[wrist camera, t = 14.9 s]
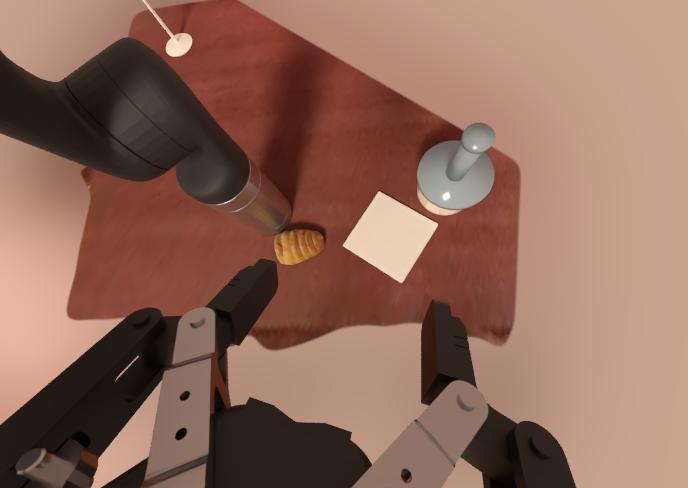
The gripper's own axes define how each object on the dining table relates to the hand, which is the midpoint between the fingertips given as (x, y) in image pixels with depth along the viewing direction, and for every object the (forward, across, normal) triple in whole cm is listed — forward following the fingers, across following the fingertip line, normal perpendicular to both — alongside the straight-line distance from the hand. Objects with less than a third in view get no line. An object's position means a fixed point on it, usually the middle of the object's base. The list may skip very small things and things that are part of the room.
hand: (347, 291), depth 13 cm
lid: (+36, -10, +4) cm, 37 cm away
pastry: (+28, +15, +20) cm, 38 cm away
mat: (+32, -2, +15) cm, 36 cm away
